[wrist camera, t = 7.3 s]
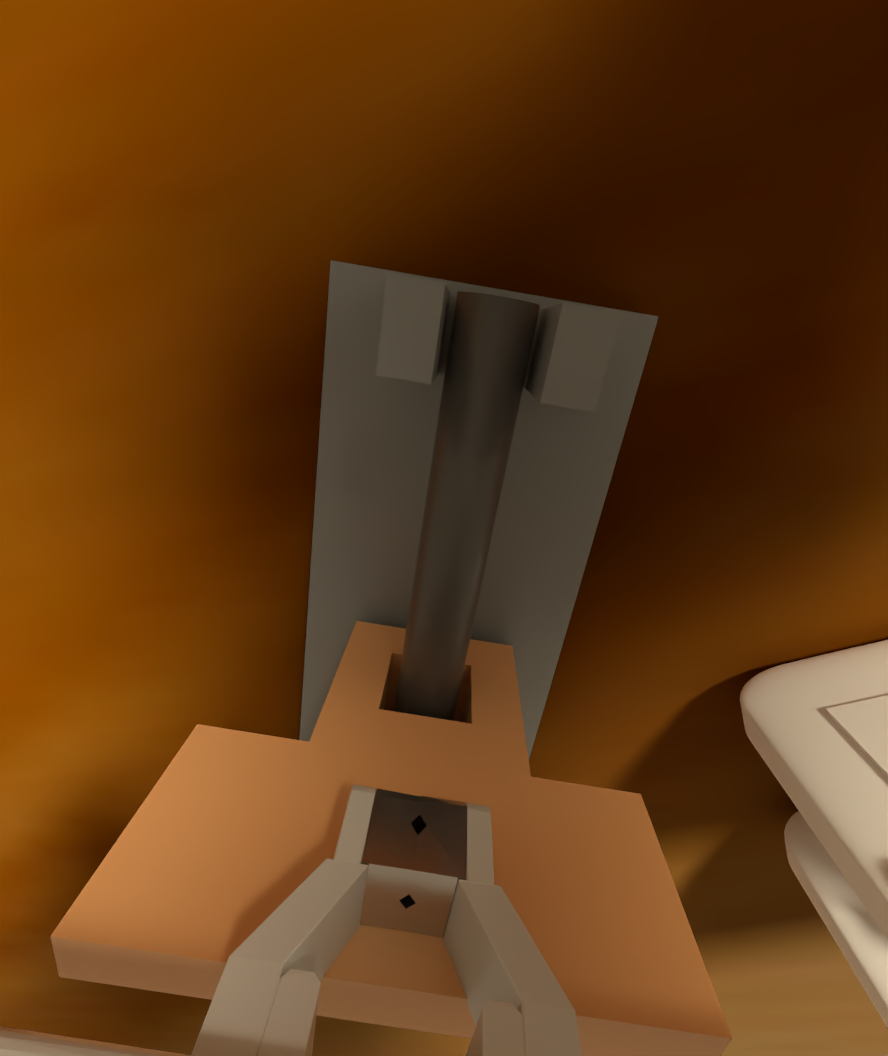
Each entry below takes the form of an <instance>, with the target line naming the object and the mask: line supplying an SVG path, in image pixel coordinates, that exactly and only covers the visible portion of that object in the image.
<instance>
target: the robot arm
mask: <svg viewBox="0 0 888 1056" xmlns="http://www.w3.org/2000/svg"><path fill="white" fill-rule="evenodd" d="M359 925H363V926H372V927H380V928H388V929H396V930H403V931H408V932H413V933H419V934H424V935H429V936H435V937H440V938H443V942H444V944H445V947H446V949H447V951H448V954H449V956H450V959H451V961H452V963H453V966H454V968H455V971H456V973H457V975H458V978H459V980H460V983H461V985H462V987H463V990H464V992H465V995H466V997H467V1004H468V1007H469V1009H470V1012H471V1014H472V1017H473V1020H474V1022H475V1025H476V1028H475V1031H474V1034H473V1037H472V1040H471V1042H470V1045H469V1048H468V1051H467V1054H466V1056H582V1052H581V1046H580V1039H579V1032H578V1026H577V1019H576V1013H575V1010H574V1008H573V1006H572V1005H571V1003H570V1001H569V1000H568V998H567V996H566V995H565V993H564V991H563V990H562V988H561V986H560V984H559V983H558V981H557V979H556V978H555V976H554V974H553V973H552V971H551V969H550V968H549V966H548V964H547V963H546V961H545V959H544V957H543V956H542V954H541V952H540V951H539V949H538V947H537V946H536V944H535V942H534V941H533V939H532V937H531V936H530V934H529V932H528V930H527V929H526V927H525V925H524V924H523V922H522V920H521V919H520V917H519V915H518V914H517V912H516V910H515V909H514V907H513V905H512V903H511V902H510V900H509V898H508V897H507V895H506V893H505V892H504V890H503V888H502V887H501V886H498V885H494V870H493V847H492V824H491V810H490V808H489V806H483V805H477V804H471V803H465V802H461V801H455V800H448V799H441V798H434V797H427V796H421V797H420V796H415V795H410V794H404V793H399V792H394V791H389V790H383V789H378V788H377V790H376V788H372V787H366V786H361V785H355V784H354V785H353V787H352V790H351V792H350V796H349V800H348V804H347V807H346V811H345V815H344V819H343V823H342V827H341V831H340V834H339V838H338V842H337V846H336V850H335V854H334V858H333V859H328V858H326V859H325V860H324V861H323V862H322V863H321V864H320V865H319V866H318V867H317V868H316V869H315V870H314V871H313V872H312V873H311V874H310V875H309V876H308V877H307V878H306V879H305V880H304V881H303V882H302V883H301V884H300V885H299V886H298V887H297V888H296V889H295V890H294V891H293V892H292V893H291V894H290V895H289V896H288V897H287V898H286V899H285V900H284V901H283V902H282V903H281V904H280V905H279V906H278V907H277V908H276V909H275V910H274V911H273V912H272V913H271V914H270V915H269V916H268V917H267V919H266V920H265V921H264V922H263V923H262V924H261V925H260V926H259V927H258V928H257V929H256V930H255V931H254V932H253V933H252V934H251V935H250V936H249V937H248V938H247V939H246V940H245V941H244V942H243V943H242V944H241V945H240V946H239V947H238V948H237V949H236V950H235V951H234V952H233V953H232V954H231V955H230V956H229V958H228V961H227V963H226V966H225V969H224V971H223V974H222V976H221V979H220V981H219V984H218V987H217V989H216V992H215V994H214V997H213V999H212V1002H211V1005H210V1007H209V1010H208V1012H207V1015H206V1017H205V1020H204V1023H203V1025H202V1028H201V1030H200V1033H199V1035H198V1038H197V1041H196V1043H195V1046H194V1048H193V1051H192V1053H191V1055H187V1054H181V1053H174V1052H167V1051H161V1050H154V1049H148V1048H141V1047H135V1046H128V1045H121V1044H115V1043H108V1042H102V1041H95V1040H89V1039H82V1038H76V1037H69V1036H62V1035H56V1034H49V1033H43V1032H36V1031H30V1030H23V1029H16V1028H10V1027H3V1026H0V1056H312V1052H313V1044H314V1035H315V1027H316V1018H317V1010H318V1001H319V993H320V984H321V982H320V981H321V980H322V977H323V975H324V974H325V973H326V971H327V970H328V969H329V967H330V966H331V965H332V963H333V962H334V961H335V959H336V958H337V957H338V955H339V954H340V953H341V952H342V950H343V949H344V948H345V946H346V945H347V944H348V942H349V941H350V940H351V938H352V937H353V936H354V934H355V933H356V932H357V930H358V929H359Z"/></svg>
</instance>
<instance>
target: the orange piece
mask: <svg viewBox="0 0 888 1056" xmlns="http://www.w3.org/2000/svg"><path fill="white" fill-rule="evenodd" d="M405 633H406V629H405V628H398V627H392V626H386V625H380V624H374V623H367V622H361V621H356V623H355V626H354V628H353V631H352V634H351V636H350V639H349V641H348V644H347V646H346V649H345V651H344V654H343V657H342V659H341V662H340V664H339V667H338V669H337V672H336V675H335V677H334V680H333V682H332V685H331V687H330V690H329V693H328V695H327V698H326V700H325V703H324V705H323V708H322V711H321V713H320V716H319V718H318V721H317V723H316V726H315V728H314V731H313V734H312V736H311V739H310V741H309V742H308V741H302V740H295V739H289V738H282V737H276V736H270V735H263V734H257V733H251V732H244V731H238V730H232V729H225V728H219V727H212V726H206V725H200V724H197V725H196V727H195V728H194V730H193V731H192V733H191V734H190V736H189V737H188V738H187V740H186V741H185V743H184V744H183V746H182V747H181V748H180V750H179V751H178V753H177V754H176V756H175V757H174V759H173V760H172V761H171V763H170V764H169V766H168V767H167V769H166V770H165V772H164V773H163V774H162V776H161V777H160V779H159V780H158V782H157V783H156V785H155V786H154V787H153V789H152V790H151V792H150V793H149V795H148V796H147V798H146V799H145V800H144V802H143V803H142V805H141V806H140V808H139V809H138V810H137V812H136V813H135V815H134V816H133V818H132V819H131V821H130V822H129V823H128V825H127V826H126V828H125V829H124V831H123V832H122V834H121V835H120V836H119V838H118V839H117V841H116V842H115V844H114V845H113V847H112V848H111V849H110V851H109V852H108V854H107V855H106V857H105V858H104V860H103V861H102V862H101V864H100V865H99V867H98V868H97V870H96V871H95V872H94V874H93V875H92V877H91V878H90V880H89V881H88V883H87V884H86V885H85V887H84V888H83V890H82V891H81V893H80V894H79V896H78V897H77V898H76V900H75V901H74V903H73V904H72V906H71V907H70V909H69V910H68V911H67V913H66V914H65V916H64V917H63V919H62V920H61V922H60V923H59V924H58V926H57V927H56V929H55V930H54V932H53V933H52V935H51V936H50V937H51V942H52V946H53V951H54V955H55V960H56V965H57V969H58V974H59V977H62V978H69V979H75V980H82V981H89V982H96V983H102V984H109V985H116V986H122V987H129V988H136V989H142V990H149V991H156V992H163V993H169V994H176V995H183V996H189V997H196V998H203V999H210V1000H212V999H213V997H214V994H215V992H216V989H217V987H218V984H219V981H220V979H221V976H222V974H223V971H224V969H225V966H226V963H227V961H228V958H229V956H230V955H231V954H232V953H233V952H234V951H235V950H236V949H237V948H238V947H239V946H240V945H241V944H242V943H243V942H244V941H245V940H246V939H247V938H248V937H249V936H250V935H251V934H252V933H253V932H254V931H255V930H256V929H257V928H258V927H259V926H260V925H261V924H262V923H263V922H264V921H265V920H266V919H267V917H268V916H269V915H270V914H271V913H272V912H273V911H274V910H275V909H276V908H277V907H278V906H279V905H280V904H281V903H282V902H283V901H284V900H285V899H286V898H287V897H288V896H289V895H290V894H291V893H292V892H293V891H294V890H295V889H296V888H297V887H298V886H299V885H300V884H301V883H302V882H303V881H304V880H305V879H306V878H307V877H308V876H309V875H310V874H311V873H312V872H313V871H314V870H315V869H316V868H317V867H318V866H319V865H320V864H321V863H322V862H323V861H324V860H325V859H326V858H328V859H333V858H334V854H335V850H336V846H337V842H338V838H339V834H340V831H341V827H342V823H343V819H344V815H345V811H346V807H347V804H348V800H349V796H350V792H351V790H352V787H353V785H354V784H355V785H361V786H366V787H372V788H376V790H377V788H378V789H383V790H389V791H394V792H399V793H404V794H410V795H415V796H420V797H421V796H427V797H434V798H441V799H448V800H455V801H461V802H465V803H471V804H477V805H483V806H489V808H490V810H491V824H492V847H493V870H494V885H498V886H501V887H502V888H503V890H504V892H505V893H506V895H507V897H508V898H509V900H510V902H511V903H512V905H513V907H514V909H515V910H516V912H517V914H518V915H519V917H520V919H521V920H522V922H523V924H524V925H525V927H526V929H527V930H528V932H529V934H530V936H531V937H532V939H533V941H534V942H535V944H536V946H537V947H538V949H539V951H540V952H541V954H542V956H543V957H544V959H545V961H546V963H547V964H548V966H549V968H550V969H551V971H552V973H553V974H554V976H555V978H556V979H557V981H558V983H559V984H560V986H561V988H562V990H563V991H564V993H565V995H566V996H567V998H568V1000H569V1001H570V1003H571V1005H572V1006H573V1008H574V1010H575V1013H576V1019H577V1026H578V1032H579V1039H580V1046H581V1052H582V1055H585V1056H721V1054H722V1053H723V1051H724V1050H725V1049H726V1047H727V1046H728V1044H729V1043H730V1041H731V1040H732V1037H731V1034H730V1031H729V1029H728V1026H727V1023H726V1021H725V1018H724V1015H723V1013H722V1010H721V1007H720V1005H719V1002H718V999H717V997H716V994H715V991H714V989H713V986H712V983H711V981H710V978H709V975H708V973H707V970H706V967H705V965H704V962H703V959H702V956H701V954H700V951H699V948H698V946H697V943H696V940H695V938H694V935H693V932H692V930H691V927H690V924H689V922H688V919H687V916H686V914H685V911H684V908H683V906H682V903H681V900H680V898H679V895H678V892H677V890H676V887H675V884H674V882H673V879H672V876H671V873H670V871H669V868H668V865H667V863H666V860H665V857H664V855H663V852H662V849H661V847H660V844H659V841H658V839H657V836H656V833H655V831H654V828H653V825H652V823H651V820H650V817H649V815H648V812H647V809H646V807H645V804H644V801H643V799H642V796H641V794H639V793H632V792H626V791H620V790H613V789H607V788H600V787H594V786H588V785H581V784H575V783H569V782H562V781H556V780H550V779H543V778H537V777H531V773H530V766H529V759H528V752H527V745H526V737H525V730H524V723H523V716H522V709H521V702H520V695H519V688H518V681H517V673H516V666H515V659H514V652H513V646H510V645H504V644H498V643H492V642H485V641H479V640H473V639H470V643H469V648H468V653H467V657H466V662H465V667H464V672H463V676H462V681H461V686H460V691H459V695H458V700H457V705H456V710H455V715H454V719H453V721H451V720H445V719H439V718H433V717H426V716H420V715H414V714H407V713H401V712H395V711H394V706H395V699H396V692H397V686H398V679H399V673H400V666H401V659H402V653H403V646H404V640H405ZM320 982H321V984H320V993H319V1001H318V1010H317V1016H323V1017H330V1018H337V1019H344V1020H350V1021H357V1022H364V1023H370V1024H377V1025H384V1026H391V1027H397V1028H404V1029H411V1030H417V1031H424V1032H431V1033H437V1034H444V1035H451V1036H458V1037H464V1038H471V1039H472V1037H473V1034H474V1031H475V1028H476V1025H475V1022H474V1020H473V1017H472V1014H471V1012H470V1009H469V1007H468V1004H467V997H466V995H465V992H464V990H463V987H462V985H461V983H460V980H459V978H458V975H457V973H456V971H455V968H454V966H453V963H452V961H451V959H450V956H449V954H448V951H447V949H446V947H445V944H444V942H443V938H440V937H435V936H429V935H424V934H419V933H413V932H408V931H403V930H396V929H388V928H380V927H372V926H363V925H359V929H358V930H357V932H356V933H355V934H354V936H353V937H352V938H351V940H350V941H349V942H348V944H347V945H346V946H345V948H344V949H343V950H342V952H341V953H340V954H339V955H338V957H337V958H336V959H335V961H334V962H333V963H332V965H331V966H330V967H329V969H328V970H327V971H326V973H325V974H324V975H323V977H322V980H321V981H320Z"/></svg>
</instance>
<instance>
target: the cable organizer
mask: <svg viewBox="0 0 888 1056" xmlns="http://www.w3.org/2000/svg"><path fill="white" fill-rule="evenodd" d="M740 704H741V710H742V715H743V721H744V727H745V732H746V734H747V736H748V738H749V740H750V741H751V743H752V744H753V745H754V747H755V748H756V750H757V751H758V753H759V754H760V756H761V757H762V758H763V760H764V761H765V763H766V764H767V766H768V767H769V769H770V770H771V771H772V773H773V774H774V776H775V777H776V779H777V780H778V782H779V783H780V784H781V786H782V787H783V789H784V790H785V792H786V793H787V795H788V796H789V797H790V799H791V800H792V802H793V803H794V805H795V806H796V808H797V809H798V810H799V811H797V812H796V813H795V814H793V815H792V816H791V818H790V819H789V820H788V822H787V824H786V826H785V830H784V839H785V846H786V852H787V858H788V862H789V865H790V867H791V869H792V871H793V872H794V874H795V876H796V877H797V879H798V881H799V882H800V884H801V886H802V887H803V889H804V890H805V892H806V894H807V895H808V897H809V899H810V900H811V902H812V904H813V905H814V907H815V909H816V910H817V912H818V914H819V915H820V917H821V919H822V920H823V922H824V924H825V925H826V927H827V929H828V930H829V932H830V934H831V935H832V937H833V939H834V940H835V942H836V944H837V945H838V947H839V948H840V950H841V952H842V953H843V955H844V957H845V958H846V960H847V962H848V963H849V965H850V967H851V968H852V970H853V972H854V973H855V975H856V977H857V978H858V980H859V982H860V983H861V985H862V987H863V988H864V990H865V992H866V993H867V995H868V997H869V998H870V1000H871V1001H872V1003H873V1005H874V1006H875V1008H876V1010H877V1011H878V1013H879V1015H880V1016H881V1018H882V1020H883V1021H884V1023H885V1025H886V1026H887V1028H888V640H884V641H880V642H876V643H871V644H867V645H863V646H857V647H853V648H849V649H844V650H840V651H836V652H832V653H827V654H823V655H819V656H815V657H810V658H806V659H802V660H798V661H795V662H791V663H786V664H782V665H779V666H775V667H772V668H769V669H767V670H765V671H763V672H760V673H759V674H757V675H756V676H754V677H752V678H751V679H750V680H749V681H748V682H747V683H746V684H745V685H744V687H743V688H742V691H741V693H740Z"/></svg>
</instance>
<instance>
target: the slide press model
mask: <svg viewBox="0 0 888 1056" xmlns="http://www.w3.org/2000/svg"><path fill="white" fill-rule="evenodd" d="M658 317H659V316H653V315H647V314H641V313H636V312H630V311H624V310H618V309H612V308H606V307H601V306H595V305H589V304H583V303H577V302H571V301H566V300H560V299H554V298H548V297H542V296H536V295H531V294H525V293H519V292H513V291H507V290H501V289H496V288H490V287H484V286H478V285H472V284H467V283H461V282H455V281H449V280H443V279H437V278H432V277H426V276H420V275H414V274H408V273H402V272H397V271H391V270H385V269H379V268H373V267H367V266H362V265H356V264H350V263H344V262H338V261H332V260H331V262H330V277H329V292H328V308H327V323H326V338H325V354H324V369H323V384H322V400H321V415H320V430H319V446H318V461H317V476H316V492H315V507H314V523H313V538H312V553H311V569H310V584H309V599H308V615H307V630H306V645H305V661H304V676H303V691H302V707H301V722H300V737H299V740H302V741H308V742H309V741H310V739H311V736H312V734H313V731H314V728H315V726H316V723H317V721H318V718H319V716H320V713H321V711H322V708H323V705H324V703H325V700H326V698H327V695H328V693H329V690H330V687H331V685H332V682H333V680H334V677H335V675H336V672H337V669H338V667H339V664H340V662H341V659H342V657H343V654H344V651H345V649H346V646H347V644H348V641H349V639H350V636H351V634H352V631H353V628H354V626H355V623H356V621H361V622H367V623H374V624H380V625H386V626H392V627H398V628H405V629H406V633H405V640H404V646H403V653H402V659H401V666H400V673H399V679H398V686H397V692H396V699H395V706H394V711H395V712H401V713H407V714H414V715H420V716H426V717H433V718H439V719H445V720H451V721H453V719H454V715H455V710H456V705H457V700H458V695H459V691H460V686H461V681H462V676H463V672H464V667H465V662H466V657H467V653H468V648H469V643H470V639H473V640H479V641H485V642H492V643H498V644H504V645H510V646H513V652H514V659H515V666H516V673H517V681H518V688H519V695H520V702H521V709H522V716H523V723H524V730H525V737H526V745H527V752H528V759H529V758H530V754H531V751H532V748H533V744H534V741H535V737H536V734H537V730H538V727H539V724H540V720H541V717H542V713H543V710H544V707H545V703H546V700H547V696H548V693H549V689H550V686H551V683H552V679H553V676H554V672H555V669H556V666H557V662H558V659H559V655H560V652H561V648H562V645H563V642H564V638H565V635H566V631H567V628H568V625H569V621H570V618H571V614H572V611H573V607H574V604H575V601H576V597H577V594H578V590H579V587H580V584H581V580H582V577H583V573H584V570H585V566H586V563H587V560H588V556H589V553H590V549H591V546H592V543H593V539H594V536H595V532H596V529H597V525H598V522H599V519H600V515H601V512H602V508H603V505H604V502H605V498H606V495H607V491H608V488H609V484H610V481H611V478H612V474H613V471H614V467H615V464H616V461H617V457H618V454H619V450H620V447H621V443H622V440H623V437H624V433H625V430H626V426H627V423H628V420H629V416H630V413H631V409H632V406H633V402H634V399H635V396H636V392H637V389H638V385H639V382H640V379H641V375H642V372H643V368H644V365H645V361H646V358H647V355H648V351H649V348H650V344H651V341H652V338H653V334H654V331H655V327H656V324H657V320H658Z"/></svg>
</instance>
